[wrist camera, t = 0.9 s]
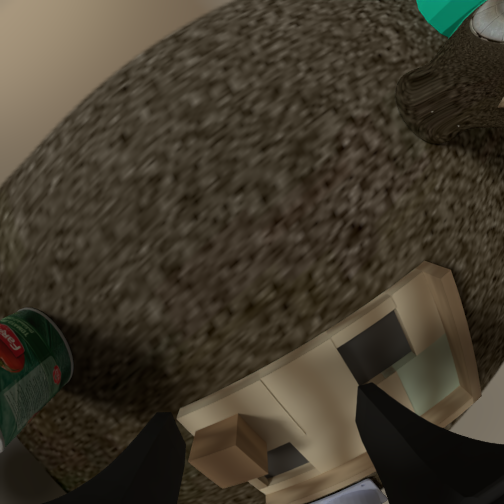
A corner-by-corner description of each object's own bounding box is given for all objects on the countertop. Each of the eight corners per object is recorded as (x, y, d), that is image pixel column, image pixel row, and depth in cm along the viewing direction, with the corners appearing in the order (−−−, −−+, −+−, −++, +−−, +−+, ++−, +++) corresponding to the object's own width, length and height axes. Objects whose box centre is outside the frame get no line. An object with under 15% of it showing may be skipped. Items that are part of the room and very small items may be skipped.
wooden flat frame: (270, 489, 22) (271, 513, 19) (180, 408, 21) (170, 435, 17) (463, 379, 21) (481, 396, 17) (424, 260, 19) (450, 269, 16)
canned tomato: (47, 297, 19) (-48, 347, 9) (88, 380, 21) (21, 460, 10) (2, 317, 20) (-75, 359, 9) (37, 388, 21) (-24, 447, 10)
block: (225, 458, 20) (222, 488, 17) (195, 431, 20) (188, 461, 16) (266, 442, 20) (268, 473, 16) (237, 413, 19) (235, 445, 16)
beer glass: (386, 57, 17) (501, -56, 2) (456, 82, 17) (579, 21, 2) (390, 139, 18) (565, 68, 3) (462, 159, 18) (618, 138, 3)
